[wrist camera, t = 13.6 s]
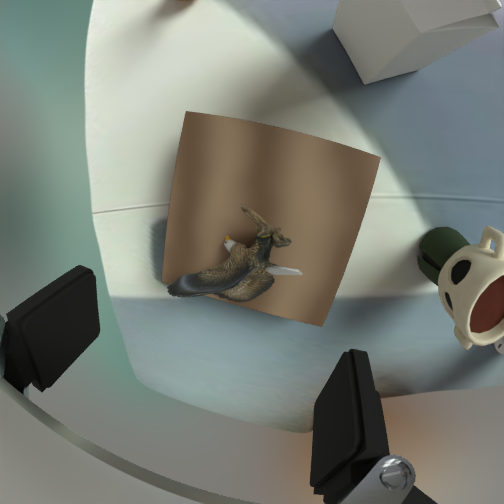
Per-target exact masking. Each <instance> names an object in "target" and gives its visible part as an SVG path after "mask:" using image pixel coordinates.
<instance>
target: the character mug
mask: <svg viewBox="0 0 504 504" xmlns="http://www.w3.org/2000/svg"><path fill="white" fill-rule="evenodd" d="M491 239H492V240H493V241H495V242H496V247H495V251H493V250H492V249H490V248H489V247H490V242H491ZM420 249H422V250H423V251H424V252H425V253H424V260H423V259H422V258H421V257H419V256H418V258H417V259H418V263H419V267H420V269H421V271H422V272H423V273H424V274H425V275H426V276H427V277H428V278H429V279H430V280H431V281H432V282H433V283H434V284H436V285H437V286H438V290H439V296H440V299H441V303H442V305H443V307H444V309H445V311H446V312H447V313H448V314H449V315H450V317H451V318H452V319H453V321H454V322H455V324H456V325H455V328H454V334H455V336H456V337H457V339H458V341H459V342H460V344H461V345H462V347H463V348H465V349H466V350H468V349H469V348H470V347H471V346H472V345H473V344H474V345H478V346H486V345H489V344H492V343H495V342H496V341H498V340H499V339H500V338H502V337H503V336H504V234H503V233H501V232H500V231H498V230H496V229H494V228H493V227H491V226H486V227H484V230H483V233H482V237H481V242H480V244H473V245H470V244H469V243H468V241H467V240H466V239H465V238H464V237H463V236H462V235H461V234H460V233H459V232H458V231H456V230H454V229H452V228H450V227H438V228H435V229H434V230H432V231H431V232H430V233H428V234H427V235H426V236H425V238H424V239H423V241H422V242H421V244H420Z"/></svg>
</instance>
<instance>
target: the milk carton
mask: <svg viewBox="0 0 504 504" xmlns="http://www.w3.org/2000/svg"><path fill="white" fill-rule="evenodd" d="M500 8H502V5H501V3H500V1H499V0H339V2H338V6H337V10H336V14H335V18H334V22H333V26H332V28H333V30H334V32H335V34H336V35H337V37H338V39H339V40H340V42H341V44H342V45H343V47H344V49H345V50H346V52H347V54H348V56H349V57H350V59H351V61H352V63H353V65H354V67H355V68H356V70H357V72H358V74H359V76H360V78H361V80H362V82H363V83H364V84H365V85H366V84H369V83H372V82H376V81H379V80H383V79H386V78H390V77H393V76H397V75H401V74H405V73H409V72H413V71H417V70H421V69H422V68H424V67H426V66H428V65H429V64H431V63H433V62H434V61H436V60H438V59H440V58H441V57H443V56H445V55H447V54H449V53H450V52H452V51H454V50H456V49H458V48H460V47H461V46H463V45H465V44H467V43H469V42H471V41H473V40H475V39H477V38H479V37H480V36H482V35H484V34H486V33H488V32H490V31H492V30H494V29H496V28H498V27H499V25H498V23H497V21H496V19H495V17H494V15H493V14H492V13H493V12H495V11H496V10H498V9H500Z"/></svg>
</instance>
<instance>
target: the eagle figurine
mask: <svg viewBox="0 0 504 504" xmlns="http://www.w3.org/2000/svg"><path fill="white" fill-rule="evenodd" d="M240 207H241V209H242V211H243V212H244V213H245V214H246V215H247V216H248V217H249V218H250V219H251V220H253V221H254V222H255V225H256V230H257V233H258V234H257V236H256V238H255V244H254V245H253V246H252V247H251V248H249V247H248V246H246V245H244V244H242V243H237V242H235V241H233V240H231V239H230V238H229V236H228V235H227V236H226V237H225V242H224V245H225V247H226V248H227V250H228V251H229V252H230V253H231V255H230V257H229V258H228V259H227V260H226V261H225V262H224V263H222V264H220V265H218V266H215V267H211V268H207V269H204V270H202V271H200V272H198V273H191V274H187V275H184V276H181V277H179V278H178V279H177V281H174V282H173V283H172V284H171V285H170V286H168V289H169V290H168V293H169V294H170V295H172V296H177V297H191V296H192V297H194V296H201V295H207V294H214V295H218V296H219V297H220V298H223V299H224V298H228V300H230V301H231V300H234V301H235V302H242V301H243V302H246V301H251V300H252V299H255V298H256V297H257V296H259V295H261V294H263V292H266V291H267V290H268V289H270V287H271V286H272V284H273V283H274V282H275V281H274V280H275V279H274V278H273V275H302V274H303V273H302V272H301V271H300V270H298V269H292V268H288V267H281V266H278V265H276V264H272V263H270V262H269V257H270V252H271V249H272V247H273V245H274V246H275V247H276V248H277V249H278V248H281V247H287V246H289V245H290V243H292V241H291V239H289V238H285V237H284V236H283V235H281V234H280V232H281V228H280V227H278V228H274V227H273V226H272V225H270V224H269V223H267V222H266V221H265V220H264V219H263V218H262V217H261V216H259V215H258V214H257V213H256V212H254V211H253V210H252V209H250V208H249V207H248V206H246V205H244V204H241V205H240ZM282 241H283V242H282Z"/></svg>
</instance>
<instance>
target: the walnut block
mask: <svg viewBox="0 0 504 504" xmlns="http://www.w3.org/2000/svg"><path fill="white" fill-rule="evenodd" d="M380 159H381V157H379V156H376V155H373V154H370V153H367V152H364V151H361V150H358V149H355V148H352V147H349V146H346V145H343V144H339V143H336V142H333V141H329V140H326V139H322V138H319V137H315V136H311V135H308V134H304V133H300V132H296V131H292V130H288V129H284V128H279V127H275V126H270V125H266V124H261V123H256V122H251V121H246V120H241V119H235V118H229V117H223V116H217V115H211V114H204V113H196V112H188V111H186V113H185V118H184V122H183V127H182V132H181V138H180V143H179V148H178V154H177V160H176V166H175V172H174V178H173V185H172V191H171V198H170V206H169V213H168V221H167V230H166V239H165V249H164V259H163V270H162V282H163V283H166V284H169V285H171V284H172V283H173V282H174V281H177V279H178V278H179V277H181V276H184V275H187V274H191V273H198V272H200V271H202V270H204V269H207V268H211V267H215V266H218V265H220V264H222V263H224V262H225V261H226V260H227V259H228V258H229V257H230V255H231V253H230V252H229V251H228V250H227V248H226V247H225V245H224V242H225V237H226V236H227V235H228V236H229V238H230V239H231V240H233V241H235V242H237V243H242V244H244V245H246V246H248V247H249V248H251V247H252V246H253V245H254V244H255V238H256V236H257V234H258V233H257V230H256V225H255V222H254V221H253V220H251V219H250V218H249V217H248V216H247V215H246V214H245V213H244V212H243V211H242V209H241V207H240V205H241V204H244V205H246V206H248V207H249V208H250V209H252V210H253V211H254V212H256V213H257V214H258V215H259V216H261V217H262V218H263V219H264V220H265V221H266V222H267V223H269V224H270V225H272V226H273V227H274V228H278V227H280V228H281V232H280V234H281V235H283V236H284V237H285V238H289V239H291V241H292V243H290V245H289V246H287V247H281V248H278V249H277V248H276V247H275V246H274V245H273V247H272V249H271V252H270V257H269V262H270V263H272V264H276V265H278V266H281V267H288V268H292V269H298V270H300V271H301V272H302V273H303V274H302V275H273V278H274V279H275V280H274V281H275V282H274V283H273V284H272V286H271V287H270V289H268V290H267V291H266V292H263V294H261V295H259V296H257V297H256V298H255V299H252V300H251V301H246V302H243V301H242V302H235V301H234V300H231V301H230V300H228V298H224V299H223V298H220V297H219V296H218V295H214V294H207V295H205V296H208V297H212V298H215V299H218V300H222V301H225V302H229V303H232V304H236V305H239V306H243V307H246V308H250V309H254V310H257V311H261V312H265V313H268V314H272V315H276V316H280V317H284V318H288V319H292V320H296V321H300V322H304V323H308V324H312V325H316V326H320V327H322V326H323V324H324V322H325V319H326V317H327V315H328V312H329V310H330V307H331V305H332V303H333V300H334V298H335V295H336V293H337V290H338V288H339V285H340V282H341V280H342V277H343V275H344V272H345V269H346V267H347V264H348V261H349V258H350V256H351V253H352V250H353V247H354V244H355V241H356V238H357V235H358V232H359V229H360V226H361V223H362V220H363V217H364V214H365V211H366V208H367V204H368V201H369V198H370V195H371V191H372V188H373V184H374V181H375V177H376V174H377V170H378V166H379V163H380ZM282 242H283V241H282Z"/></svg>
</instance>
